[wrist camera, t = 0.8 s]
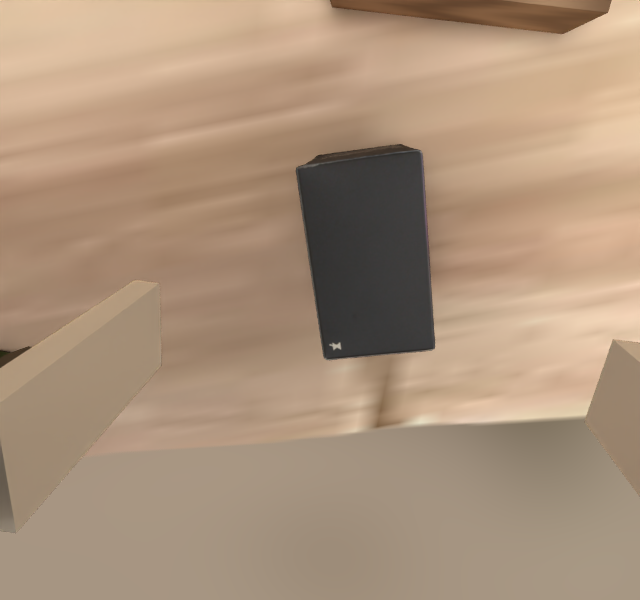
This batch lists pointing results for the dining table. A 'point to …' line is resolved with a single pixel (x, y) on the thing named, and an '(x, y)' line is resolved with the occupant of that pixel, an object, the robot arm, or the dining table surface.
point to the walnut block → (492, 11)
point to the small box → (369, 251)
